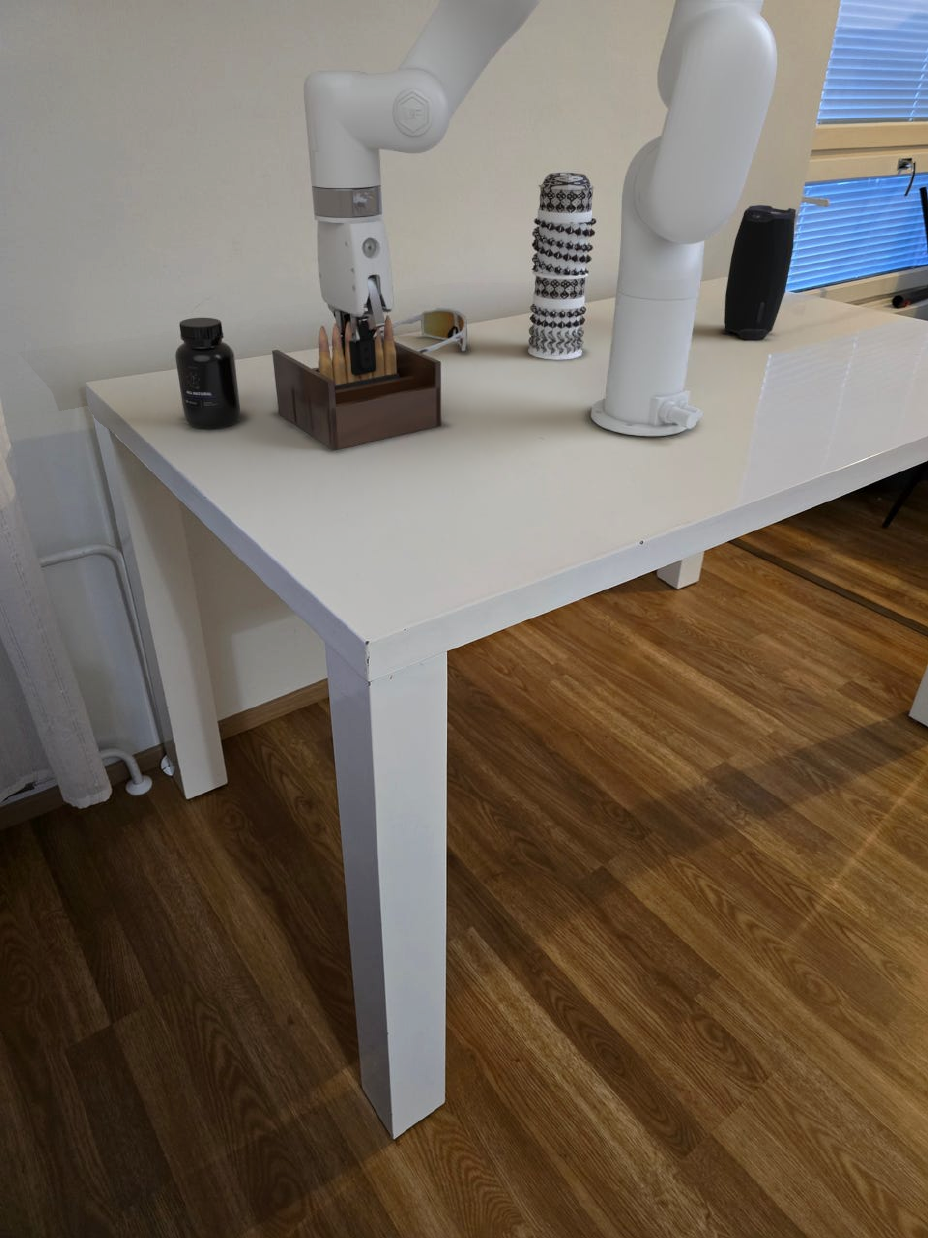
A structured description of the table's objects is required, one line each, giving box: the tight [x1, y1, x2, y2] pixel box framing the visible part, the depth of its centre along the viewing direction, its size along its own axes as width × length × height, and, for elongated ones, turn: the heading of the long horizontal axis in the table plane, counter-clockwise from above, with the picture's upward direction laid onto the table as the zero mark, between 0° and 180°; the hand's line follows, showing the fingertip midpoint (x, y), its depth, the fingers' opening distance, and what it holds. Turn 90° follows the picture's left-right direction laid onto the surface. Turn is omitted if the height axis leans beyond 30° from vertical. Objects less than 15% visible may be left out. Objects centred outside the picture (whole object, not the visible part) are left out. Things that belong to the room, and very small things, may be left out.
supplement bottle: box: [174, 317, 242, 430], centre depth 102 cm, size 7×7×12 cm
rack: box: [271, 335, 442, 451], centre depth 104 cm, size 15×15×8 cm
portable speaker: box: [723, 204, 797, 341], centre depth 139 cm, size 9×9×20 cm
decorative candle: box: [527, 172, 597, 361], centre depth 127 cm, size 9×9×25 cm
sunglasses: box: [380, 307, 468, 354], centre depth 133 cm, size 14×15×5 cm
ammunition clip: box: [318, 314, 399, 390], centre depth 103 cm, size 11×2×12 cm, turn 125°
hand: (358, 369), depth 103 cm, fingers closed on ammunition clip, 1 cm apart
